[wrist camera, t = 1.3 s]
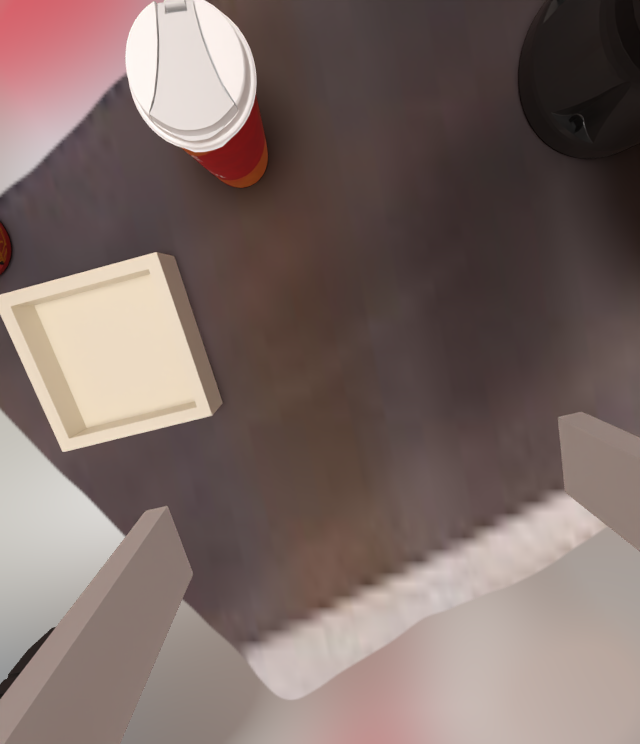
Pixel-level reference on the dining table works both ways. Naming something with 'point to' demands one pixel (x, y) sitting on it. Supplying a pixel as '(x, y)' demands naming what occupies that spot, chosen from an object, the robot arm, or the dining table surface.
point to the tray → (112, 350)
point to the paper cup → (198, 87)
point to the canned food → (4, 249)
